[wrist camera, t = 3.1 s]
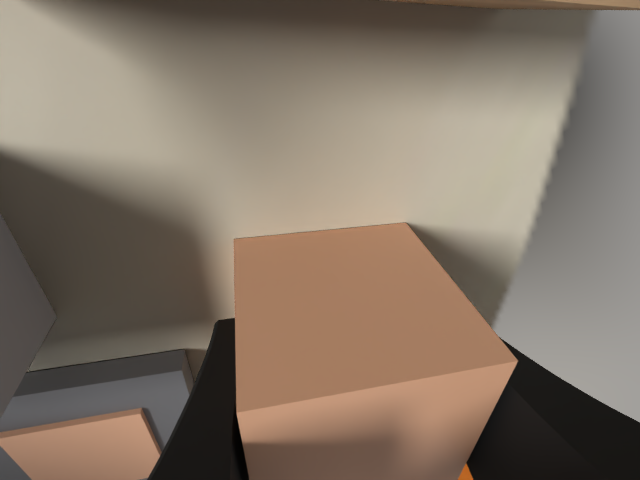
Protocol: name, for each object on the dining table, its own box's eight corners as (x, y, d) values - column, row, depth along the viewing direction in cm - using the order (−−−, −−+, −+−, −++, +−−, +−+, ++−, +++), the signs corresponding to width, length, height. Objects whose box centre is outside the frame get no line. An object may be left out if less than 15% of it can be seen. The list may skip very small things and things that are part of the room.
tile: (32, 494, 14) (19, 525, 13) (-73, 387, 10) (-100, 421, 9) (215, 457, 15) (214, 482, 14) (184, 349, 11) (180, 375, 11)
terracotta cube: (250, 358, 12) (259, 534, 8) (233, 239, 10) (236, 412, 5) (385, 337, 13) (455, 485, 9) (405, 222, 10) (518, 360, 6)
